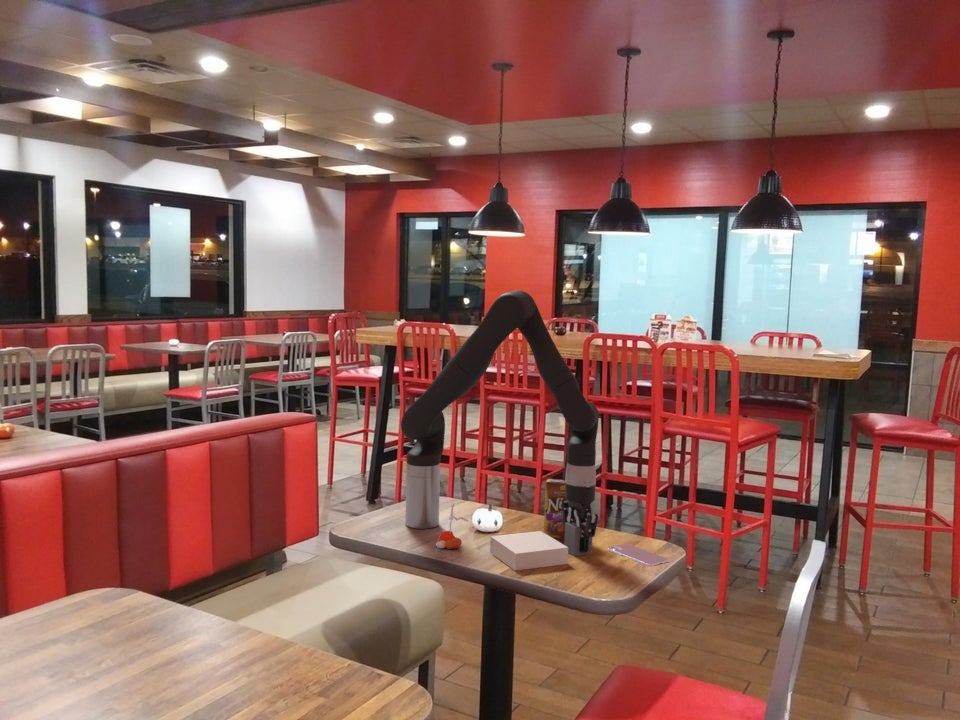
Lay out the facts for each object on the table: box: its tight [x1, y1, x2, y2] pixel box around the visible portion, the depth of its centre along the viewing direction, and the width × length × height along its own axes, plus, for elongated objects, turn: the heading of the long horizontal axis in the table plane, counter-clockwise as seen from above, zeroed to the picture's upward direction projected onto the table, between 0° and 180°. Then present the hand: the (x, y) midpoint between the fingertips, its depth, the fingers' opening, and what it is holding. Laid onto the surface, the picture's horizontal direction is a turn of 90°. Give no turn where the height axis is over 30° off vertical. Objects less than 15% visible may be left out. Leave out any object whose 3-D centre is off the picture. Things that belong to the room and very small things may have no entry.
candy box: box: [543, 477, 569, 540], centre depth 205 cm, size 9×4×15 cm, turn 74°
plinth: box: [489, 530, 569, 572], centre depth 189 cm, size 14×14×4 cm
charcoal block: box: [563, 522, 593, 557], centre depth 194 cm, size 5×5×7 cm
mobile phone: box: [607, 543, 670, 567], centre depth 193 cm, size 8×1×15 cm
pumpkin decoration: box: [435, 503, 469, 550], centre depth 194 cm, size 6×10×12 cm, turn 46°
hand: (578, 548), depth 194 cm, fingers closed on charcoal block, 5 cm apart
